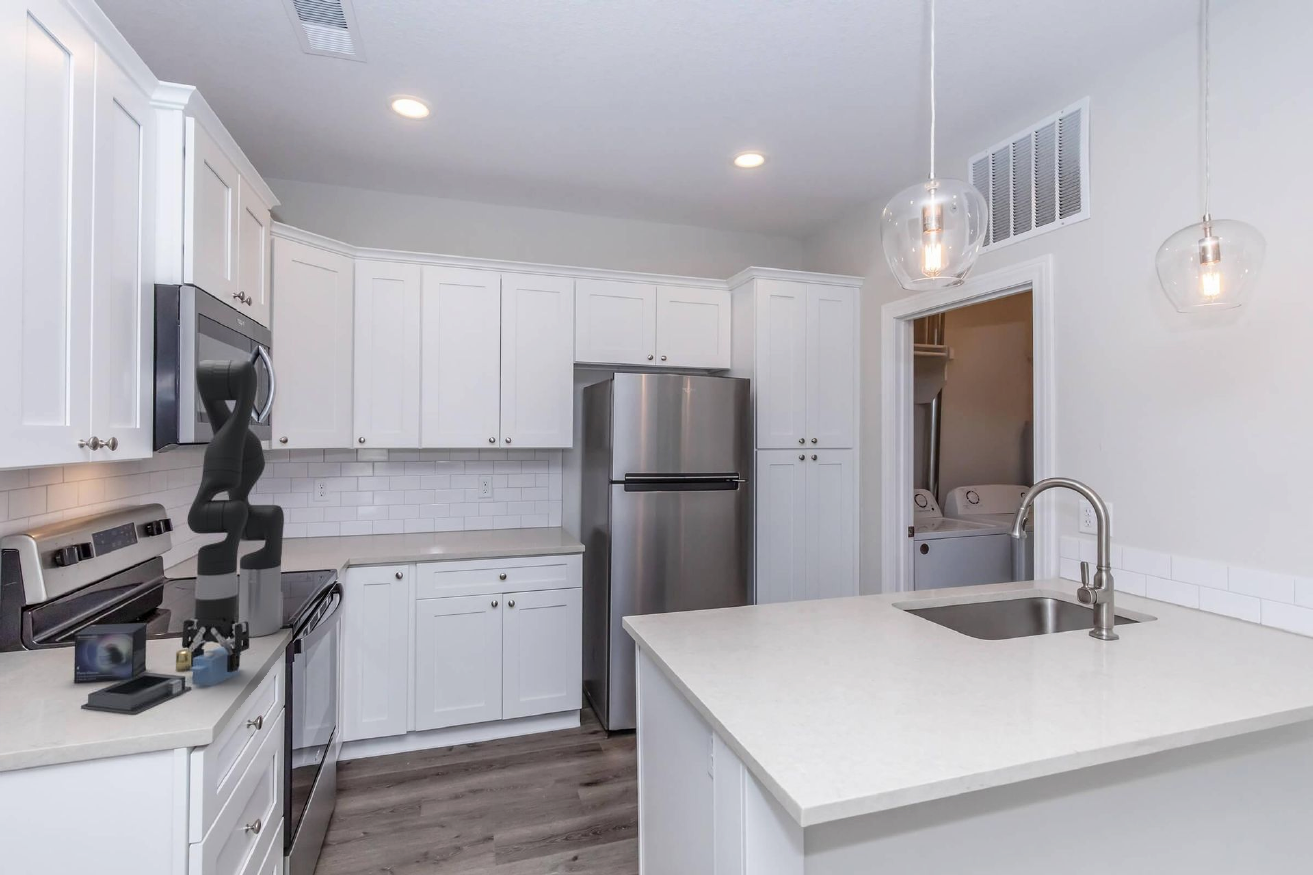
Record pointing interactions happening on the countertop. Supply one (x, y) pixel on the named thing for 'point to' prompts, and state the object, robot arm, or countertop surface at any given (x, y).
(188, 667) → the cylinder
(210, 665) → the servo
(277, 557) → the robot arm
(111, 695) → the frame
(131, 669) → the small box
